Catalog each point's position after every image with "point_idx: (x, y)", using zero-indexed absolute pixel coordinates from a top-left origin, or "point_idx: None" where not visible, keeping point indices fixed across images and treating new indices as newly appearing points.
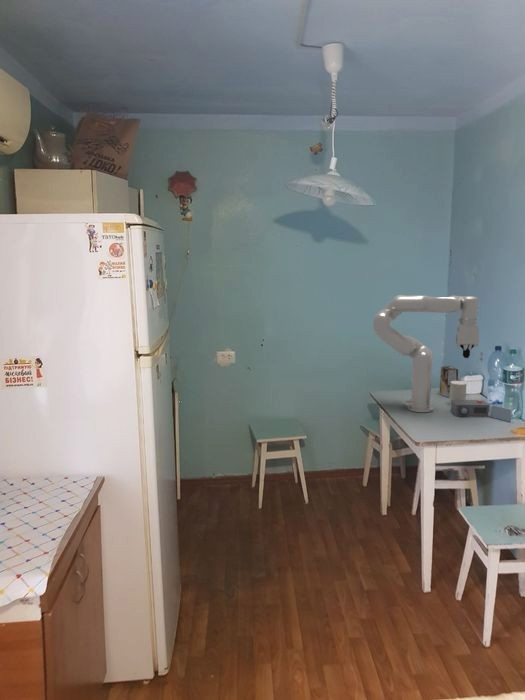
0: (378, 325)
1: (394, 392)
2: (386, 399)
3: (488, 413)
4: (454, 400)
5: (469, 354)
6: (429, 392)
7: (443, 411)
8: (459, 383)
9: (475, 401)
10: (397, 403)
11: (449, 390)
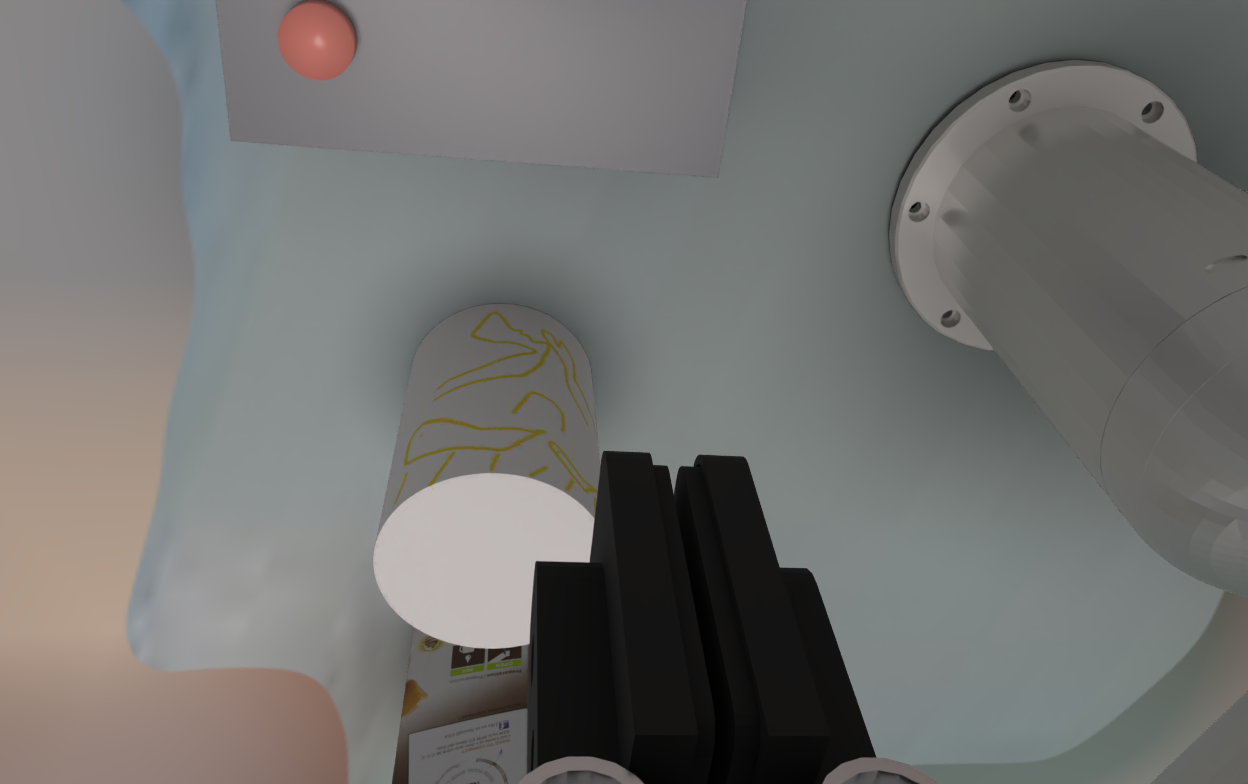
0: None
1: (973, 727)
2: None
3: None
4: (688, 138)
5: (554, 599)
6: (1095, 229)
7: (796, 106)
8: (495, 527)
9: (378, 63)
10: None
11: (502, 657)
